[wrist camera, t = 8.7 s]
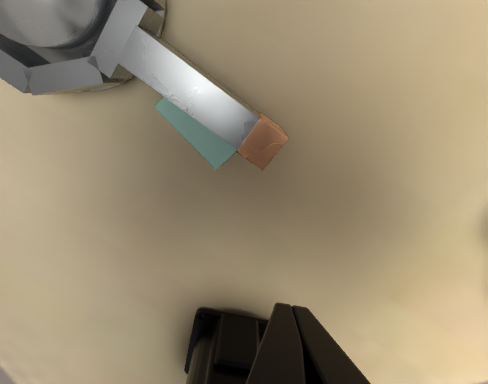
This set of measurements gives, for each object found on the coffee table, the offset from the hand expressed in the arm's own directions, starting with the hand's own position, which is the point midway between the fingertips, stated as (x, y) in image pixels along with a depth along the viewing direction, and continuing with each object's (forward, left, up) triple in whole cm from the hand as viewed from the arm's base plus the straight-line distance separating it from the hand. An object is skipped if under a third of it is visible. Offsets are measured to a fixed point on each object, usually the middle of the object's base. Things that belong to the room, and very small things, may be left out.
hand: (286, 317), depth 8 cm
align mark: (+3, +5, -12) cm, 13 cm away
